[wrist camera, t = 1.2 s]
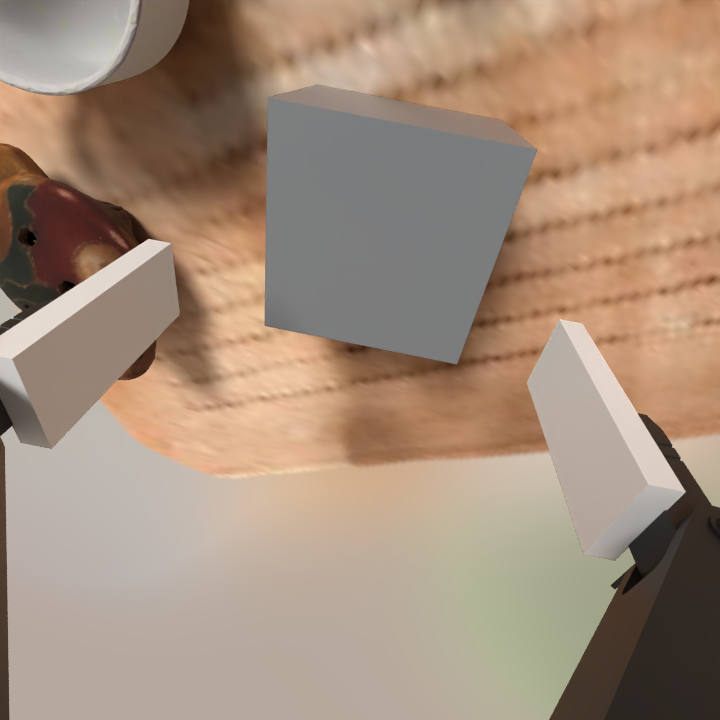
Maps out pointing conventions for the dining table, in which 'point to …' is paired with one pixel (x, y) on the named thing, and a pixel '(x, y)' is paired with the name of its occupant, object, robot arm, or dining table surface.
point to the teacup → (84, 41)
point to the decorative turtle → (56, 237)
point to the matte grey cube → (385, 218)
